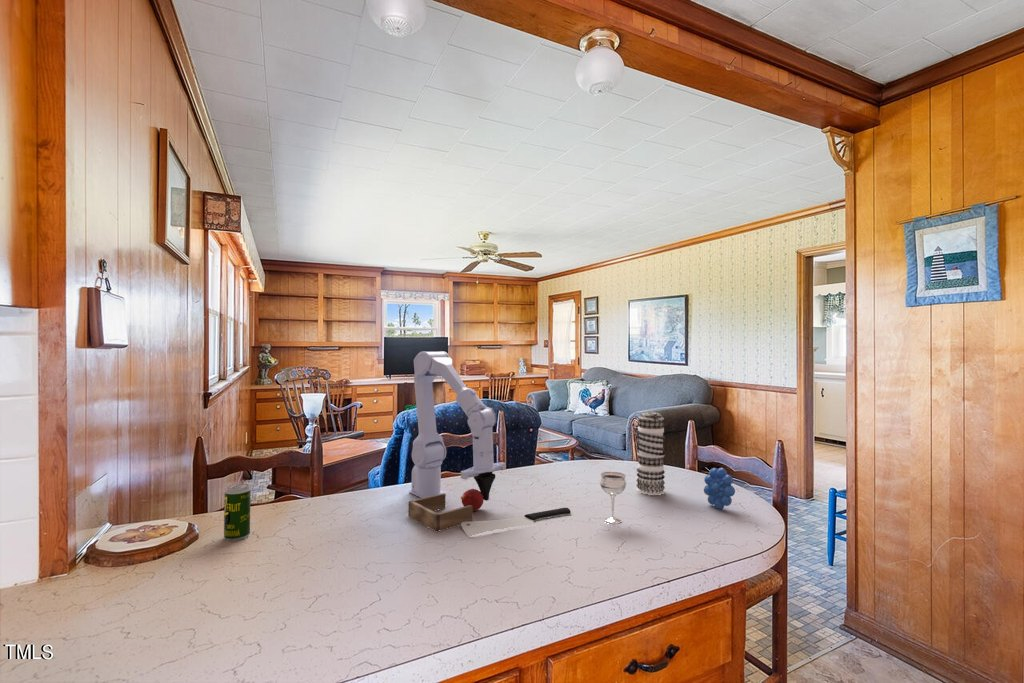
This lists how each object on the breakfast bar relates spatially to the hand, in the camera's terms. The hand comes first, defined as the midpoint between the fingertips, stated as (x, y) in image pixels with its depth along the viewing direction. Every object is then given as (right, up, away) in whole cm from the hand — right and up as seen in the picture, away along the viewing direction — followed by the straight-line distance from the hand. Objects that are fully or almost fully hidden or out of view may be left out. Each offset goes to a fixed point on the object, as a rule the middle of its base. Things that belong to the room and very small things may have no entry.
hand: (484, 499), depth 134 cm
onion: (-1, -1, 0) cm, 1 cm away
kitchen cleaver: (+10, -3, -12) cm, 16 cm away
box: (-11, -2, -8) cm, 14 cm away
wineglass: (+34, -3, -9) cm, 36 cm away
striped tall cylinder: (+52, -3, +17) cm, 55 cm away
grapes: (+68, -3, +2) cm, 68 cm away
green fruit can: (-57, -2, -22) cm, 61 cm away
